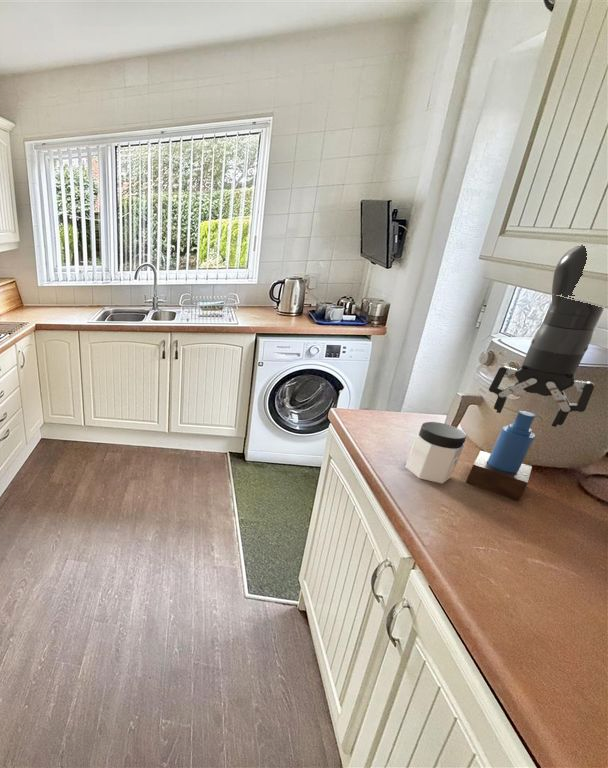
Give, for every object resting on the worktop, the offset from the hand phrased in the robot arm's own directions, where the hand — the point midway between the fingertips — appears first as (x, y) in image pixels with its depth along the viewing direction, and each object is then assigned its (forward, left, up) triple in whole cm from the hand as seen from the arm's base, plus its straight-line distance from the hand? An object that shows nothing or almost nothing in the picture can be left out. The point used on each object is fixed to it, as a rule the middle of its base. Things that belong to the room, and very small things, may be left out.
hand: (525, 418), depth 87 cm
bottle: (0, 0, -12) cm, 12 cm away
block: (0, 0, -17) cm, 17 cm away
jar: (+11, +7, -18) cm, 22 cm away
